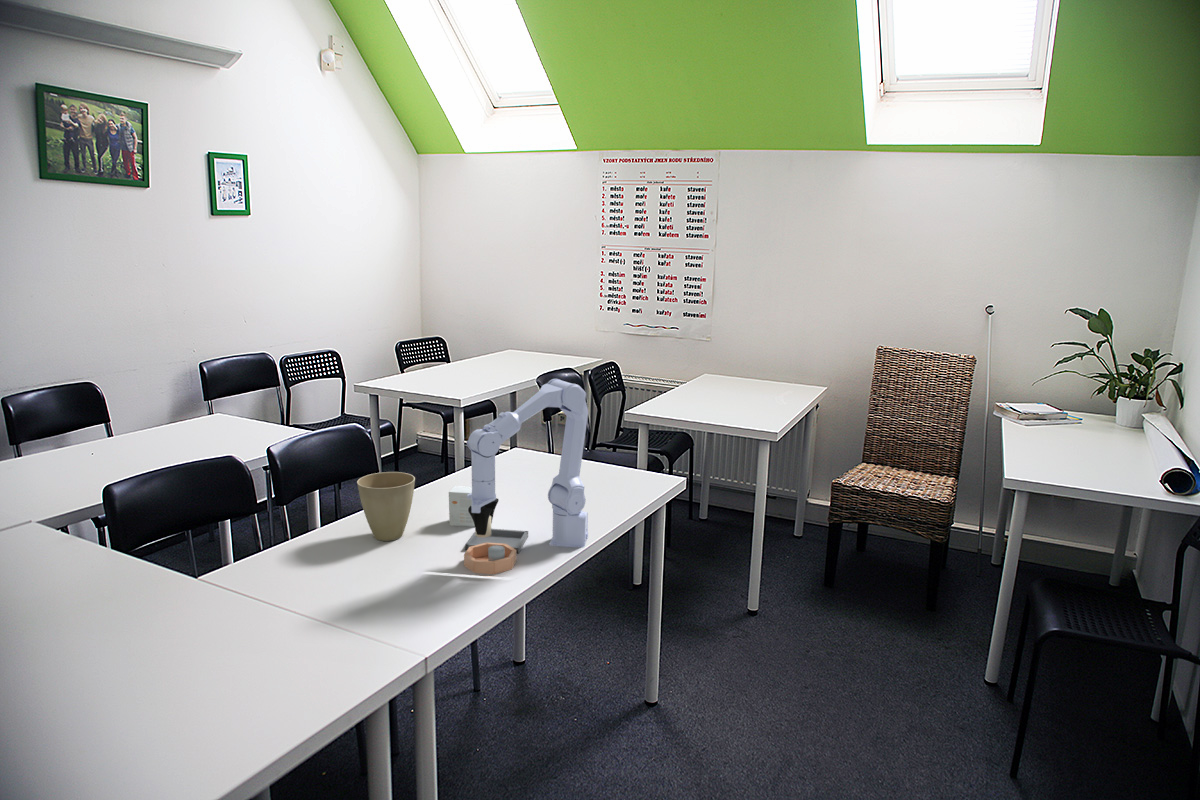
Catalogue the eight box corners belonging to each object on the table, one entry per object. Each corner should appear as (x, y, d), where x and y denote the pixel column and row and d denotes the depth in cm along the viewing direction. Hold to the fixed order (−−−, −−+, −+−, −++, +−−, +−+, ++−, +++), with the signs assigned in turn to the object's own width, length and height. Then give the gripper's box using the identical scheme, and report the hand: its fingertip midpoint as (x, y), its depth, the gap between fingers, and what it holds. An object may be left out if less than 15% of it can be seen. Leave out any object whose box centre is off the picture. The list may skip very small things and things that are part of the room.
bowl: (519, 557, 199) (519, 544, 198) (508, 577, 187) (508, 563, 186) (473, 554, 200) (473, 541, 199) (459, 573, 188) (459, 560, 188)
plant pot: (423, 527, 217) (422, 472, 214) (405, 548, 203) (403, 489, 199) (372, 524, 219) (369, 470, 215) (350, 544, 204) (347, 486, 201)
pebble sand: (493, 532, 195) (493, 515, 194) (488, 537, 191) (488, 520, 190) (477, 530, 196) (477, 513, 195) (473, 536, 192) (472, 519, 191)
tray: (528, 538, 211) (528, 531, 211) (518, 555, 200) (518, 548, 199) (477, 534, 213) (477, 527, 212) (465, 552, 201) (465, 544, 201)
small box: (482, 522, 223) (481, 486, 220) (477, 529, 217) (476, 493, 215) (454, 520, 223) (454, 485, 221) (448, 527, 218) (448, 491, 216)
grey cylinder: (506, 563, 194) (506, 546, 193) (502, 569, 190) (502, 552, 189) (490, 561, 194) (490, 544, 193) (486, 568, 190) (486, 551, 189)
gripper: (475, 469, 198) (476, 519, 201) (458, 486, 184) (459, 540, 187) (502, 470, 197) (502, 521, 200) (487, 488, 183) (488, 542, 186)
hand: (483, 531), depth 193 cm, fingers closed on pebble sand, 4 cm apart
